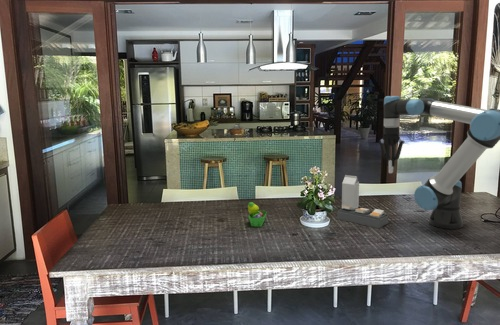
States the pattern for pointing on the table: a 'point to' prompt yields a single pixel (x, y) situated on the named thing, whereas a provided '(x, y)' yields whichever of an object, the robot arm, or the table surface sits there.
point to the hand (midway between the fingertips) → (390, 172)
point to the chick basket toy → (256, 215)
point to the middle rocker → (362, 210)
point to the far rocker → (348, 207)
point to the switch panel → (362, 218)
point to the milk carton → (350, 191)
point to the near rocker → (377, 213)
